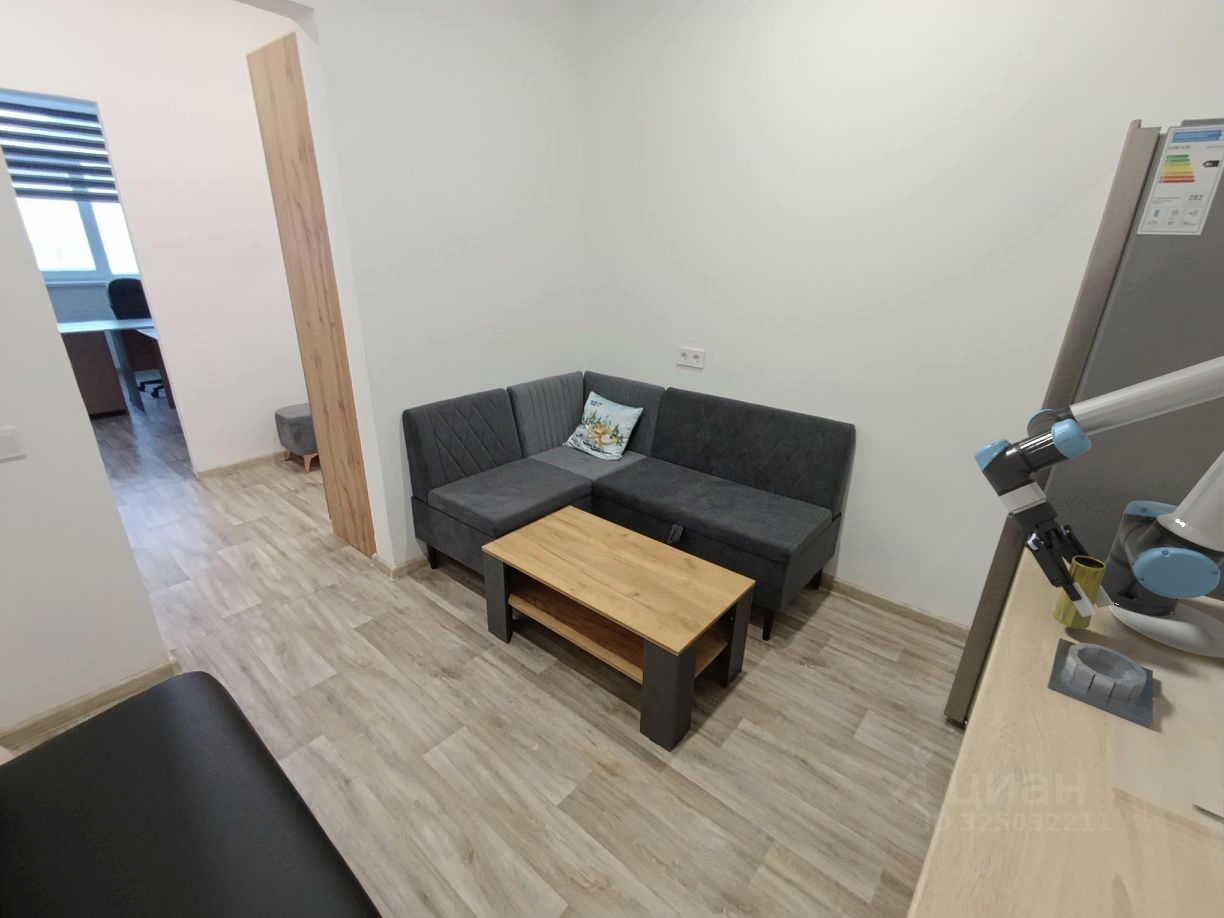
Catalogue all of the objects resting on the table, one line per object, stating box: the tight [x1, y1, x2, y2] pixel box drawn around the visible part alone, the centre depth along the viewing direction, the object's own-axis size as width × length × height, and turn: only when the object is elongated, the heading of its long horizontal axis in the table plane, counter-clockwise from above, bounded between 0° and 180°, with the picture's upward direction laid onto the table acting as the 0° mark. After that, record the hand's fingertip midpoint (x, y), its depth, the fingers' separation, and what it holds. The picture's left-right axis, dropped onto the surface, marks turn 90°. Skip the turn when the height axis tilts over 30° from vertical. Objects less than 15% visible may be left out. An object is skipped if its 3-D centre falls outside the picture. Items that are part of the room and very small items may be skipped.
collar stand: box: [1047, 638, 1154, 729], centre depth 102 cm, size 16×14×4 cm
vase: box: [1052, 556, 1106, 630], centre depth 113 cm, size 6×6×14 cm
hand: (1097, 610), depth 111 cm, fingers closed on vase, 5 cm apart
